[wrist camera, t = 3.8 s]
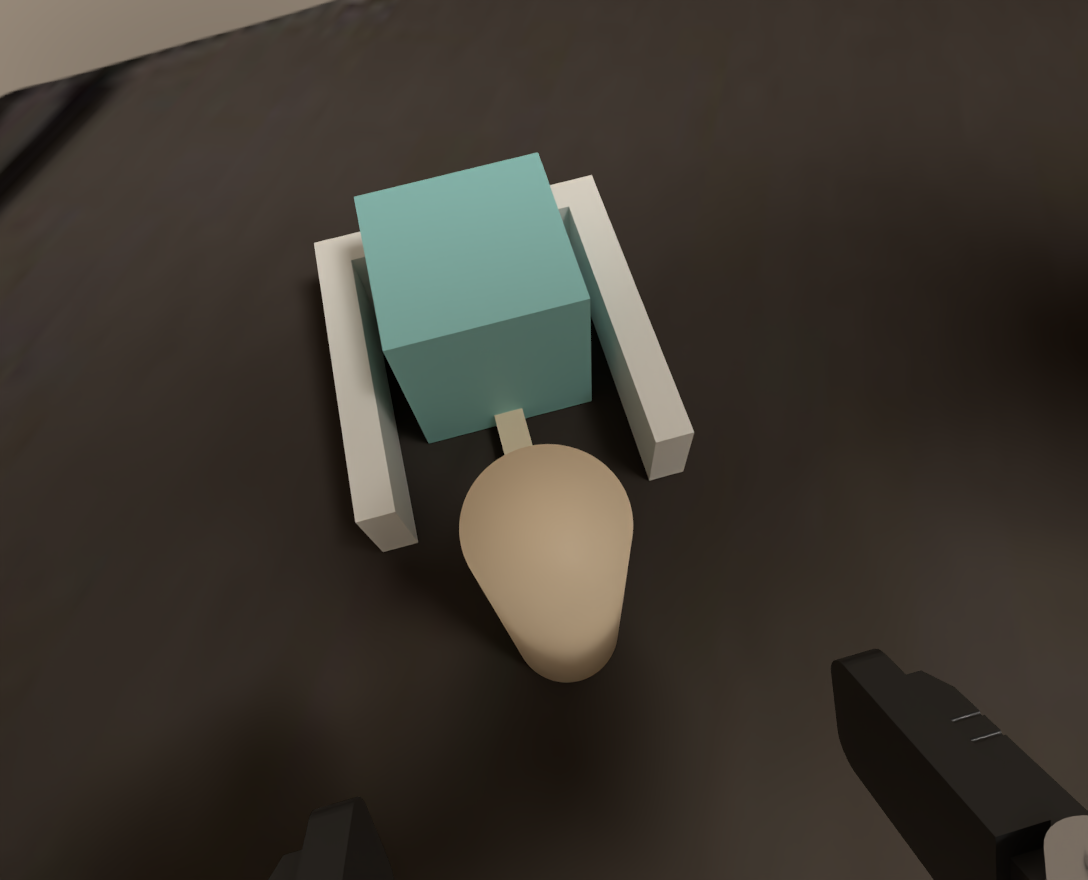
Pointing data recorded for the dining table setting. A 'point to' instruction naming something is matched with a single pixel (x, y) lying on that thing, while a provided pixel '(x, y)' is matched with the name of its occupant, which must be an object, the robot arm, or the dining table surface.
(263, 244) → the dining table surface
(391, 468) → the cream u-shaped frame
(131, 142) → the dining table surface
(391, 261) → the tethered block
